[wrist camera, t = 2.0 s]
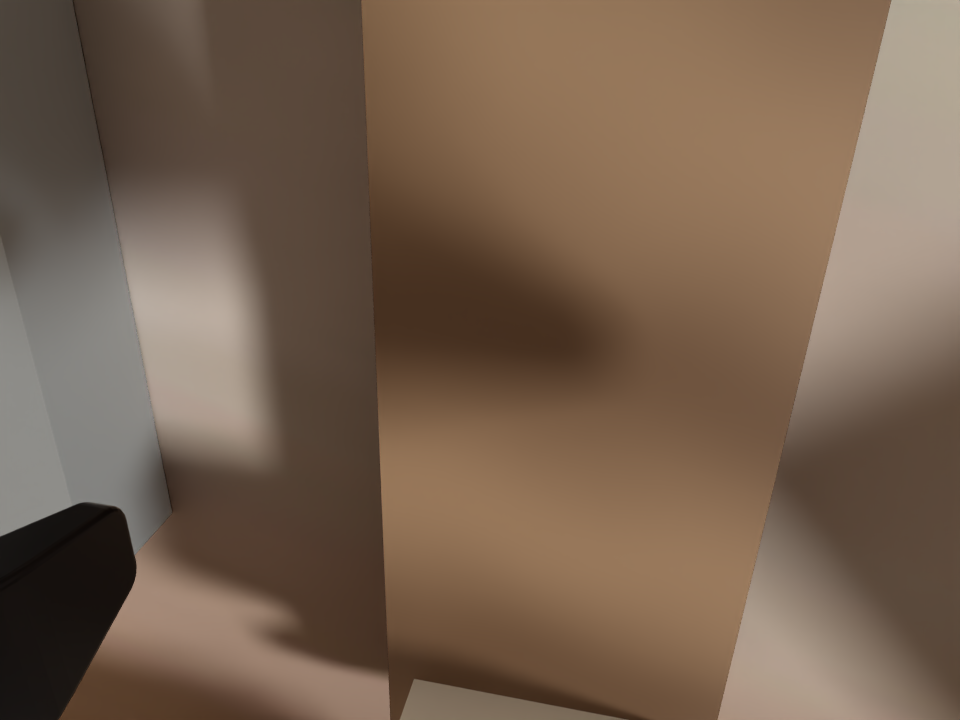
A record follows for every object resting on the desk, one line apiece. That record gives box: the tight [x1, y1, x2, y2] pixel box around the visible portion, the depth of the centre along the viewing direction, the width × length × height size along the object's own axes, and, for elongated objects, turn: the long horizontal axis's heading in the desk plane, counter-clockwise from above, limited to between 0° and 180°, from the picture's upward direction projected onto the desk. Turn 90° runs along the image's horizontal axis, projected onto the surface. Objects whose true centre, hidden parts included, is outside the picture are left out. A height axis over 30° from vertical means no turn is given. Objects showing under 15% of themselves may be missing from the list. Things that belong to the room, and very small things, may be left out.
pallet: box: [361, 0, 891, 720], centre depth 13 cm, size 24×6×5 cm, turn 179°
